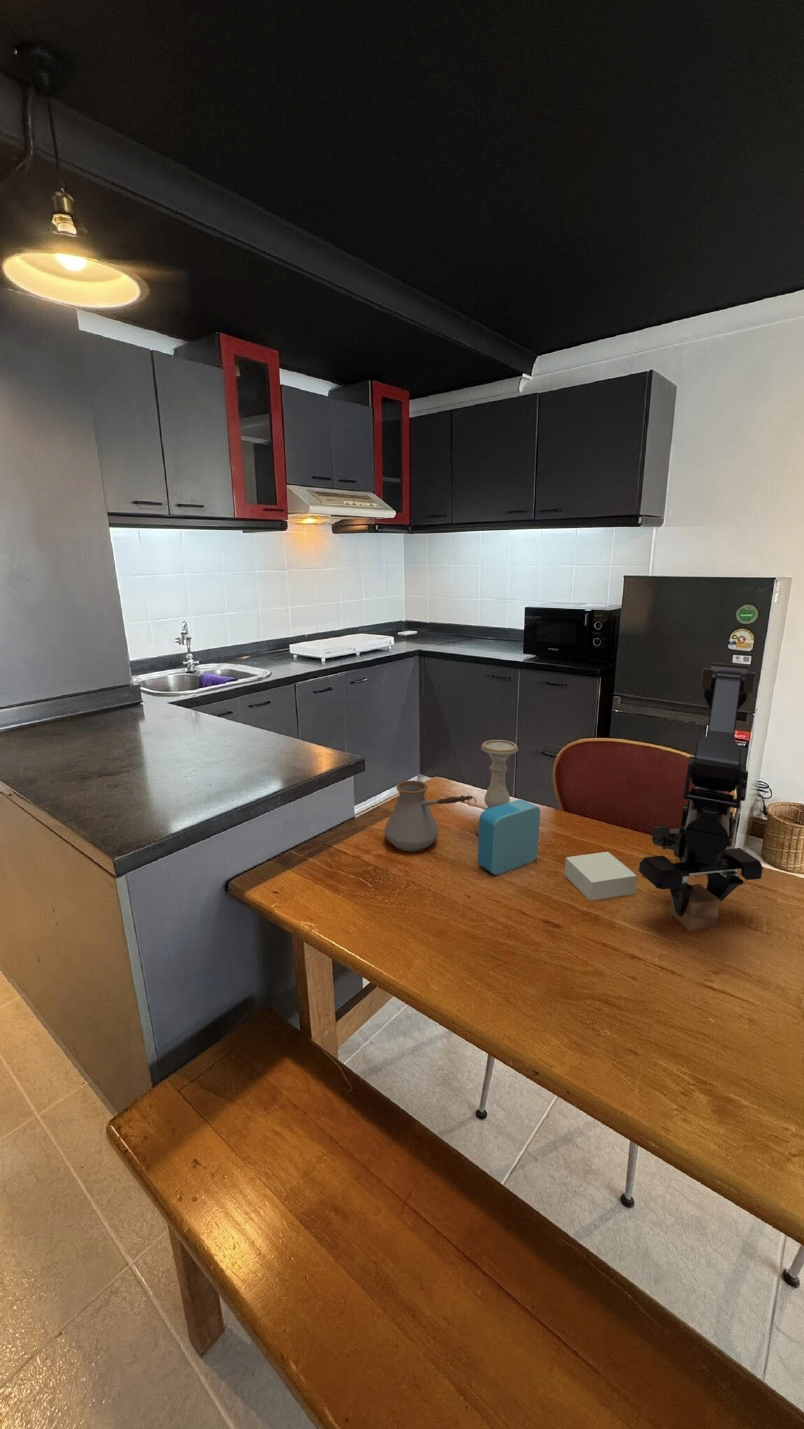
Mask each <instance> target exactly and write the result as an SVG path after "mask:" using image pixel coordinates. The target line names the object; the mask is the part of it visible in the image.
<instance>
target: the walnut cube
mask: <svg viewBox="0 0 804 1429" xmlns="http://www.w3.org/2000/svg"><path fill="white" fill-rule="evenodd" d="M689 885H690V886H692V887H693V891H692V894H691V896H690V899H689V902H688V904H687V907H686V910H685V912H684V914H683V916H679V915H678V914H677V913H676V910H675V907H674V903H673V899H672V898H671V901H670V909H669V913H670V914H671V915H672V916H673V917H674V918H675V919H676V920H677V921H678V922H679V923H680V924H681V925H682V926H683V927H684V928H685V929H686V930H688V931H697V930H703V929H704V930H705V929H713V928H717V925H718V918H719V913H720V912H719V911H720V907H721V906H720V905H721V903H720V901H721V900H720V899H718V898H717V897H716V896H715V895H713V894H712V893H711V892H710V891H708V890H707V887H705V886H703V885H702V884H701V883H695V884H694V883H693V884H689Z"/></svg>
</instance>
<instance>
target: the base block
mask: <svg viewBox="0 0 804 1429" xmlns="http://www.w3.org/2000/svg"><path fill="white" fill-rule="evenodd" d="M564 861H565V862H564V876H565V877H566V878H567V879H568V880H569V881H570V882H571V883H572V884H573V885H574V887H575V888H577V889H578V891H579V892H580V893H582V894H583V895H584V896H585V898H587V899H588V900H589V901H590V902H592V901H597V900H598V901H599V900H603V899H604V900H605V899H610V898H618V897H624V896H628V895H629V896H632V895H635V894H636V887H637V886H636V885H637V877H638V875H636V873H634V872H633V871H632V870H631V869H630V868H628V867H627V866H626V865H625V864H624V863H623V862H621V860H619V859H617V857H615V856H614V855H613V854H612V853H610V852H609V851H605V852H603V851H601V852H596V853H595V852H594V853H589V854H581V855H573V856H567V857H565V860H564Z"/></svg>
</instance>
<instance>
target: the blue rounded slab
mask: <svg viewBox="0 0 804 1429" xmlns="http://www.w3.org/2000/svg"><path fill="white" fill-rule="evenodd" d="M540 820H541V809H540V807H539V806H537V805H535V804H534V803H532V802H529V801H527V800H524V799H521V798H519V799H516V800H513V801H510V802H509V803H506V804H502V805H499V806H496V807H492V808H489V809H486V808H485V809H484V810H483V811H482V812H481V813H480V815H479V822H478V823H479V836H478V844H477V846H478V848H477V863H478V865H479V866H480V867H482V868H484V869H485V870H487V871H488V872H490V873H491V874H493V875H494V876H499V875H502V874H504V873H506V872H509V871H512V870H515V869H517V868H520V867H522V866H524V865H527V864H530V863H533V862H534V861H535V860H536V858H537V857H538V851H539V838H540V837H539V836H540Z"/></svg>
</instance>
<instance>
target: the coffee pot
mask: <svg viewBox="0 0 804 1429" xmlns="http://www.w3.org/2000/svg"><path fill="white" fill-rule="evenodd" d="M395 788H396V790H397V791H398V793H399V796H398V798H397V800H396V803H395V804H394V806H393V809H392V811H391V813H390V816H389V817H388V820H387V822H386V825H385V827H384V829H383V830H384V831H383V832H384V835H385V837H386V839H387V840H388V841H389V842H390V844H392V845H394V847H395V848H396V849H399V850H401V851H404V852H418V851H422V850H425V849H427V848H428V847H429V846H431V844H433V843H434V842H435V841H436V839H437V838H438V836H439V833H440V829H439V827H438V824H437V822H436V819H435V818H434V817H435V816H434V815H433V813H432V811H431V808H430V806H433V805H446V804H447V805H448V804H456V803H458V802H462V803H464V802H465V801H467V805H468V806H469V807H472V808H473V807H475V806H476V805H477V799H476V797H473V795H466V796H465V795H463V794H462V795H460V796H450V797H446V798H440V799H439V798H438V799H435V800H427V799H426V797H425V793H426V792H427V789H428V785H427V784H426V783H425V782H423V781H420V780H405V781H401V782H399V783H397V785H396V787H395ZM473 799H474V805H471V804H470V801H471V800H473Z"/></svg>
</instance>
